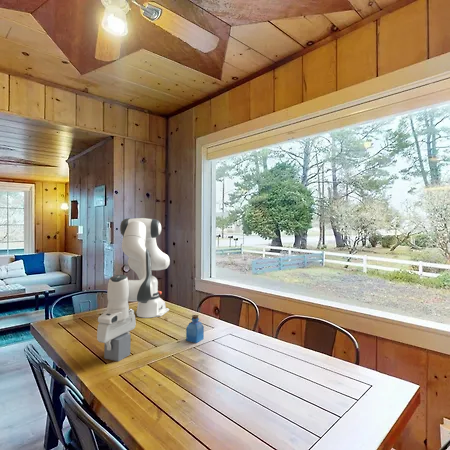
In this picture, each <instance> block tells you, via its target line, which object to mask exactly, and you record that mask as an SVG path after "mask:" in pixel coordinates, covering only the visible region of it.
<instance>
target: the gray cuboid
mask: <svg viewBox="0 0 450 450" xmlns="http://www.w3.org/2000/svg"><path fill="white" fill-rule="evenodd" d="M131 341H132V340H131V333H129V334H126V333H124V334H122V335H120V336H118V337H116V338H114V339H112V340H111V342H110V344H111V345H113V347H112V348H113V349H112V350H110V351H109V350H107V346H106V344H105V343H104V348H103V349H104V351H103V352H104V355H103V358H104V360H105V359H106V360H110V361H115V362H120V361H122V360H124V359H125V358H127V357H128V356H130V355H131V344H132V343H131Z"/></svg>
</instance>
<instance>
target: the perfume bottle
mask: <svg viewBox="0 0 450 450" xmlns="http://www.w3.org/2000/svg"><path fill="white" fill-rule="evenodd" d="M191 317H192V318H191V322H189V323H188V325H187V326H186V331H185V334H186V335H185V336H186V339H185V340H186V342H191V343H195V344H198V343H199V342H201V341H203V340H205V339H204V334H205V332H204V331H205V329H204V328H205V327H204V325H203V323H202V322H201V321H199V319H200V318H199V315H198V314H192V316H191Z"/></svg>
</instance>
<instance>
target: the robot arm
mask: <svg viewBox="0 0 450 450" xmlns="http://www.w3.org/2000/svg"><path fill="white" fill-rule="evenodd" d="M119 227H120V228H119V230H120V231H119V232H120V234H121V236H123V238H122V241H121V250H122V252H123V254H125V256H127V257H128V260H127V264H128V267H129V269H131V270H132V271H133V272H134V273H135V274H136V276H137V278H138V279H128V276H127V275H126V274H117V275H116V274H115V275H112V276H110V277H109V278H108V279H109V280H108V283H107V294H106V295H107V298H106V299H107V301H108V302H107V305H106V306H107V307H106V310H104V312H103V313H102V314H101V315H99V316H98V317H97V322H98V325H97V329H96V330H97V332H96V339H97V341H98V342H99V343H102V344H103V343H104V344H106V346H107V350H109V351H110V350H112V349H113V348H112V347H113V345H111V344H110V342H111V340H112V339H114V338H116V337H118V336H120V335H122V334H124V333H126V334H131V331H132V330H134V329H135V328H136V326H137V325H136V322H137V321H136V316H137V317H139V318H144V319H145V318H146V319H147V318H157V317H163V315H165V314H166V313H168V312H169V311H170V308H168V307H166V302H165V300H163V298H161V297H160V295H162V293H163V292H162V291H160V290H158V289H159V287H158V286H159V281H158V278H157V277H156V276H154V275H153V274H152V273H153V271H162V270H166V269H168V268H169V266H170V264H171V260H170V259H171V258H170V256H169V255H168V254H166V253H165V252H163V251H162V250H161V249H160V248H159V246H158V245H157V238H158V237H159V236H160V235H161V233H162V225H161V222H160V220H158V219H156V218H145V217H141V218H140V217H138V218H137V217H136V218H124V219H123V220H122V221H121V223H120V226H119ZM129 302H137V306H136V307H137V308H136V311H135V310H134V309H133V308H130V307H129V306H130V305H129ZM135 314H136V315H135Z"/></svg>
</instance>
